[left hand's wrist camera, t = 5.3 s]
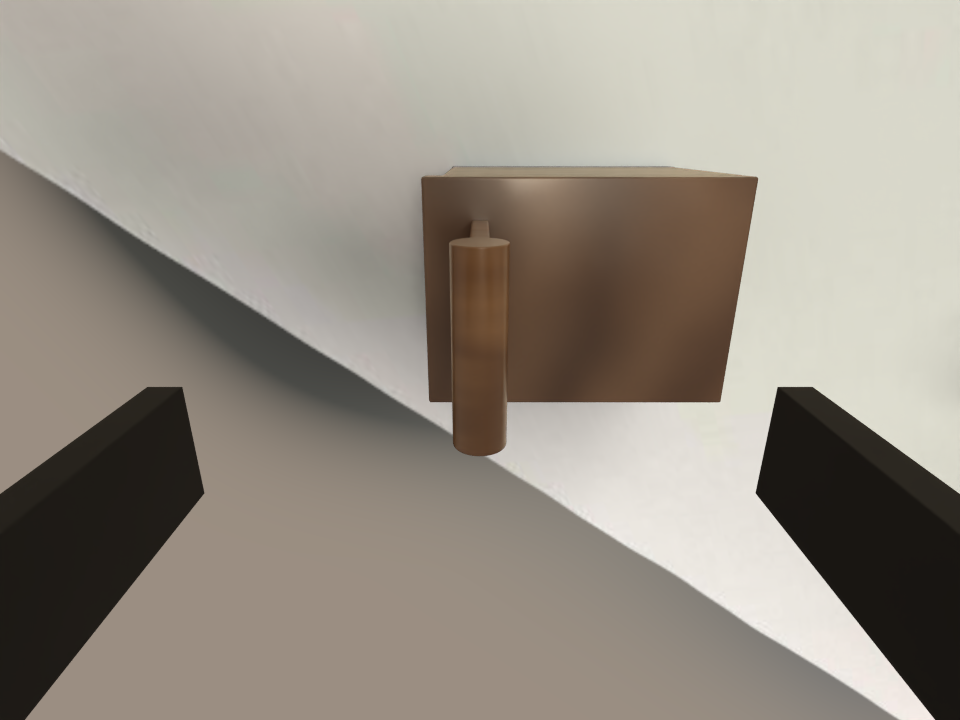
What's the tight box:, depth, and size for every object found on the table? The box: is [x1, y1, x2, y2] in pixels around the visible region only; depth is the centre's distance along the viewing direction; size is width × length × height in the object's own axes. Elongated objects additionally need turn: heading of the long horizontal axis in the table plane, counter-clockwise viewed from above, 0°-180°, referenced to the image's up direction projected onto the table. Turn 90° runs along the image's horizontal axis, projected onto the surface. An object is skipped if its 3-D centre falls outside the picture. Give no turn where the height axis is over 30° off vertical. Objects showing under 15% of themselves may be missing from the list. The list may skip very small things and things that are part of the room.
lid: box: [421, 176, 758, 456], centre depth 21 cm, size 14×10×9 cm
